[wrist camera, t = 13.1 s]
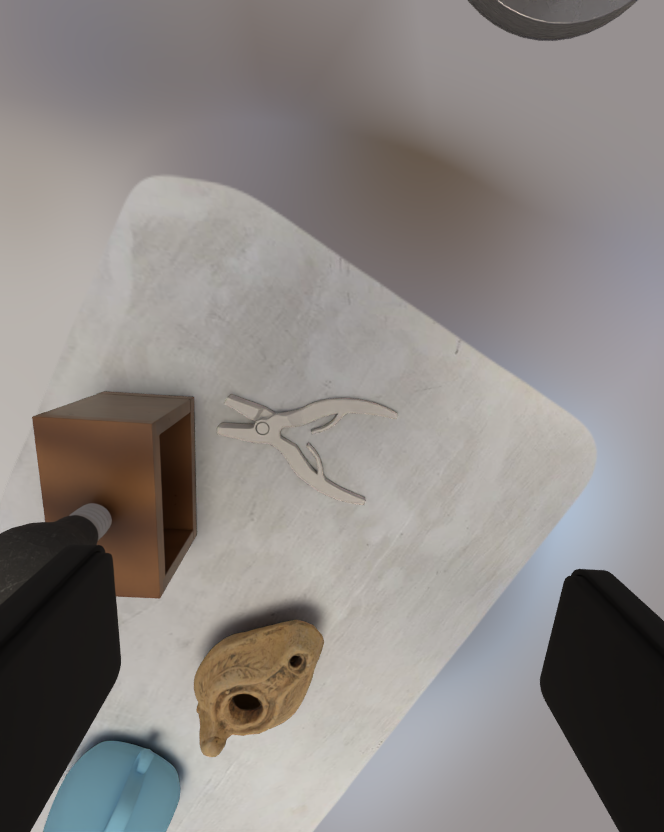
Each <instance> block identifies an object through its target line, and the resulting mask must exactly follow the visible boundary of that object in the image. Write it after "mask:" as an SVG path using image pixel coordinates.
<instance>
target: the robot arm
mask: <svg viewBox="0 0 664 832" xmlns="http://www.w3.org/2000/svg"><path fill="white" fill-rule="evenodd" d="M120 666H121V654H120V641H119V629H118V616H117V604H116V592H115V579H114V567H113V558H112V555H111V554H110V553H105V549H104V548H103V546H101V545H91V544H69V545H67V546H66V547H64V548H63V549H62V550H61V551H60V552H59V553H58V554H57V555H55V556H54V557H53V558H52V559H51V560H50V561H49V562H48V563H47V564H45V565H44V566H43V567H42V568H41V569H40V570H39V571H38V572H36V573H35V574H34V575H33V576H32V577H31V578H30V579H29V580H28V581H26V582H25V583H24V584H23V585H22V586H21V587H20V588H19V589H17V590H16V591H15V592H14V593H13V594H12V595H11V596H10V597H9V598H7V599H6V600H5V601H4V602H3V603H2V604H1V605H0V832H30V831H31V829H32V828H33V826H34V824H35V822H36V821H37V819H38V817H39V815H40V814H41V812H42V810H43V808H44V807H45V805H46V803H47V801H48V800H49V798H50V796H51V794H52V793H53V791H54V789H55V787H56V786H57V784H58V782H59V780H60V778H61V777H62V775H63V773H64V771H65V770H66V768H67V766H68V764H69V763H70V761H71V759H72V757H73V756H74V754H75V752H76V750H77V749H78V747H79V745H80V743H81V742H82V740H83V738H84V736H85V735H86V733H87V731H88V729H89V728H90V726H91V724H92V722H93V721H94V719H95V717H96V715H97V714H98V712H99V710H100V708H101V707H102V705H103V703H104V701H105V700H106V698H107V696H108V694H109V693H110V691H111V689H112V687H113V686H114V684H115V682H116V680H117V677H118V674H119V671H120ZM540 687H541V692H542V694H543V697H544V699H545V701H546V703H547V705H548V707H549V708H550V710H551V712H552V714H553V716H554V717H555V719H556V721H557V723H558V724H559V726H560V728H561V729H562V731H563V733H564V735H565V737H566V738H567V740H568V742H569V744H570V746H571V747H572V749H573V751H574V753H575V754H576V756H577V758H578V760H579V761H580V763H581V765H582V767H583V768H584V770H585V772H586V774H587V776H588V777H589V779H590V781H591V782H592V784H593V786H594V788H595V790H596V791H597V793H598V795H599V797H600V798H601V800H602V802H603V804H604V806H605V807H606V809H607V811H608V813H609V814H610V816H611V818H612V820H613V821H614V823H615V825H616V827H617V829H618V830H619V832H664V621H663V620H662V619H661V618H660V617H659V616H658V615H657V614H655V613H654V612H653V611H652V610H651V609H650V608H649V607H648V606H647V605H646V604H645V603H643V602H642V601H641V600H640V599H639V598H638V597H637V596H636V595H635V594H634V593H632V592H631V591H630V590H629V589H628V588H627V587H626V586H625V585H624V584H623V583H621V582H620V581H619V580H618V579H617V578H616V577H615V576H614V575H613V574H611V573H610V572H608V571H604V570H586V569H578V570H575V571H574V572H573V573H572V575H571V576H568V577H567V578H566V579H565V581H564V584H563V588H562V592H561V596H560V600H559V604H558V608H557V612H556V616H555V620H554V624H553V628H552V633H551V636H550V640H549V644H548V649H547V652H546V657H545V660H544V665H543V669H542V673H541V677H540Z"/></svg>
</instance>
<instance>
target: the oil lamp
mask: <svg viewBox="0 0 664 832" xmlns="http://www.w3.org/2000/svg"><path fill="white" fill-rule="evenodd" d="M323 644H324V640H323V636H322V634H321V633H319V631H318V630H317V629H316V628H315V627H314V625H311V624H309V623H307V622H304V621H300V620H292V621H287V622H282V623H278V624H274V625H270V626H266V627H262V628H257V629H253V630H251V631H247V632H242V633H237V634H233V635H231V636H229V637H227V638H225V639H223V640H222V641H220V642H219V643H218V644H216V645H215V646H214V647H213V648H212V649H211V650H210V651H209V653H208V654H207V655H206V657H205V658H204V659H203V661H202V663H201V664H200V666H199V668H198V670H197V672H196V675H195V679H194V691H195V695H196V699H197V701H198V706H197V713H198V714H199V718H200V748H201V751H202V753H203V755H205V756H209V757H216V756H217V755H219V754H220V752H221V751H222V749H223V748H224V746H225V744H226V740H227V738H228V737H230V736H231V735H232V734H233V735H242V736H244V735H248V734H260V733H262V732H264V731H266V730H268V729H270V728H273V727H275V726H277V725H279V724H281V723H283V722H285V721H286V720H288V719H289V718H290V717H291V716H292V715H293V714H294V713H295V712H296V711H297V709H298V708H299V706H300V704H301V703H302V701H303V699H304V697H305V695H306V693H307V690H308V688H309V686H310V683H311V680H312V677H313V673H314V669H315V666H316V663H317V661H318V659H319V656H320V654H321V651H322V648H323Z"/></svg>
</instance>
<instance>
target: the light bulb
mask: <svg viewBox="0 0 664 832" xmlns="http://www.w3.org/2000/svg"><path fill="white" fill-rule="evenodd" d="M111 522H112V519H111V515H110V513H109V512H108V510H107V509H105V508H104V507H103V506H101V505H99V504H94V503H90V504H86V505H84V506H82V507H80V508H79V509H77V510H76V511H74V512H73V513H72V514H70V515H69V516H66V517H63V518H61V519H59V520H57V521H55V522H40V523H30V524H26V525H22V526H18V527H15V528H11V529H9V530H7V531H5V532H3V533H1V534H0V605H1V604H2V603H3V602H4V601H5V600H6V599H7V598H9V597H10V596H11V595H12V594H13V593H14V592H15V591H16V590H17V589H19V588H20V587H21V586H22V585H23V584H24V583H25V582H26V581H28V580H29V579H30V578H31V577H32V576H33V575H34V574H35V573H36V572H38V571H39V570H40V569H41V568H42V567H43V566H44V565H45V564H47V563H48V562H49V561H50V560H51V559H52V558H53V557H54V556H55V555H57V554H58V553H59V552H60V551H61V550H62V549H63V548H64V547H66V546H67V545H69V544H91V545H97V542H98V540H99V539H100V538H101V537H102V536H103V535H104V534H105V533H106V532H107V530H108V529H109V528H110V526H111Z"/></svg>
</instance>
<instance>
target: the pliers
mask: <svg viewBox="0 0 664 832" xmlns="http://www.w3.org/2000/svg"><path fill="white" fill-rule="evenodd" d="M224 404H226V405H228V406H229V407H231V408H233V409H234V410H236V411H237V412H239V413H241V414H242V415H244V416H246V417H247V418H249V419H251V420H252V421H256V423H255V425H254V424H238V423H221V424H220V425H219V426H218V427H217V434H219V435H223V436H227V437H231V438H235V439H239V440H243V441H248V442H252V443H266V444H270V445H272V446H273V447H275V448H277V449H278V450H279V451H280V452H281V454H282V455H283V456H284V457H285V458H286V460H287V461H288V463H289V465H290V466H291V468H292V470H293V471H294V472H295V473H296V474H297V475H298V476H299V477H300V478H301V479H302V480H303V481H304V482H306V483H307V484H308V485H310V486H311V487H313V488H314V489H316V490H317V491H319V492H321V493H323V494H325V495H327V496H329V497H331V498H334V499H337V500H340V501H343V502H347V503H352V504H359V505H364V504H365V501H366V500H365V497H362V496H360V495H357V494H355V493H353V492H350V491H348V490H346V489H344V488H342V487H340V486H338V485H336V484H334V483H333V482H331V481H329V480H328V479H326V478H325V476H324V474H323V468H322V462H321V460H320V457H319V455H318V453H317V452H316V450H315V449H314V448H313V447H312V446H311V444H310V443H309V442H308V443H307V445H306V447H307V448H308V449H309V450H310V451H311V453H312V454H313V456H314V457H315V459H316V461H317V465H318V472H317V471H316V470H314V469H313V468H312V467H311V466H310V464H309V463H308V462H307V460H306V459H305V457H304V456H303V454H302V452H301V451H300V449H299V448H298V446H297V445H296V444H294V443H292V442H291V441H289V440H287V439H286V438H284V437H282V436H281V429H282V428H283V427H298V426H303V425H306V424H308V423H310V422H312V421H315V420H317V419H319V418H322V417H325V416H327V415H332V414H336V416H335V418H334V419H333V420H332V421H331V422H329V423H328V424H327V425H324V426H322V427H319V428H316V429H312V430H311V434H316V433H320V432H323V431H325V430H328V429H330V428H331V427H333V426H334V425H336V424H337V423H338V422H339V420H340V419H341V418H342V417H343V416H345V415H346V414H348V413H359V414H370V415H377V416H383V417H388V418H393V419H397V417H398V413H397V412H395V411H393V410H391V409H389V408H387V407H384V406H382V405H380V404H377V403H374V402H370V401H366V400H361V399H352V398H333V399H324V400H320V401H316V402H313V403H311V404H309V405H307V406H305V407H303V408H301V409H297V410H293V411H289V412H282V413H275V412H273V411H272V410H270V409H268V408H267V407H265V406H262V405H259V404H257V403H254V402H251V401H249V400H246V399H243V398H240V397H238V396H235V395H232V394H231V395H229V396H228V397H227V398H226V400H225V402H224Z"/></svg>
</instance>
